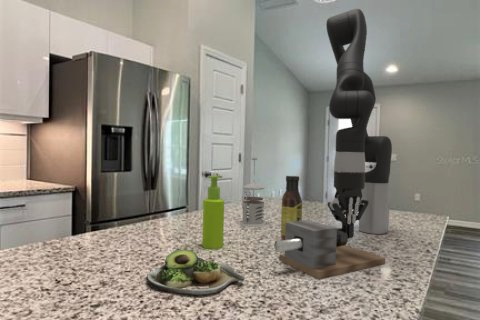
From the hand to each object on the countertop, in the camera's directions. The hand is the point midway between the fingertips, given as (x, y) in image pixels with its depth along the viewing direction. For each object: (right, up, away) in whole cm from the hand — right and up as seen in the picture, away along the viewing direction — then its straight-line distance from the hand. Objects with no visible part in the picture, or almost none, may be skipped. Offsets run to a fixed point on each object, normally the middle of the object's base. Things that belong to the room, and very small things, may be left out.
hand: (347, 237), depth 88 cm
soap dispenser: (-35, -5, +10) cm, 37 cm away
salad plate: (-38, -6, -15) cm, 41 cm away
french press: (-23, -4, +39) cm, 46 cm away
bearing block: (-5, -6, -2) cm, 8 cm away
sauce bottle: (-12, -5, +18) cm, 22 cm away
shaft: (-11, -2, -6) cm, 12 cm away
